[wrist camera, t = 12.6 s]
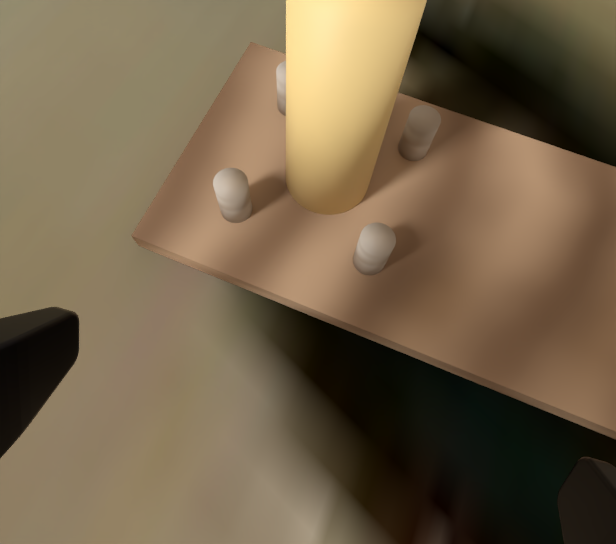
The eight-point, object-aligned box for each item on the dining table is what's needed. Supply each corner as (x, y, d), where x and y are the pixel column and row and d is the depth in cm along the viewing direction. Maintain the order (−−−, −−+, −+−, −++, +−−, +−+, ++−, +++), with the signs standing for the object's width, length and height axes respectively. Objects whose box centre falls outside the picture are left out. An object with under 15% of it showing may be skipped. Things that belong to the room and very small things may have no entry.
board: (138, 245, 24) (113, 211, 20) (252, 57, 28) (247, 4, 25) (640, 449, 21) (710, 450, 17) (671, 203, 26) (731, 165, 22)
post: (297, 222, 23) (306, 37, 13) (277, 151, 24) (271, -64, 14) (379, 205, 24) (451, 15, 13) (355, 137, 25) (403, -80, 15)
